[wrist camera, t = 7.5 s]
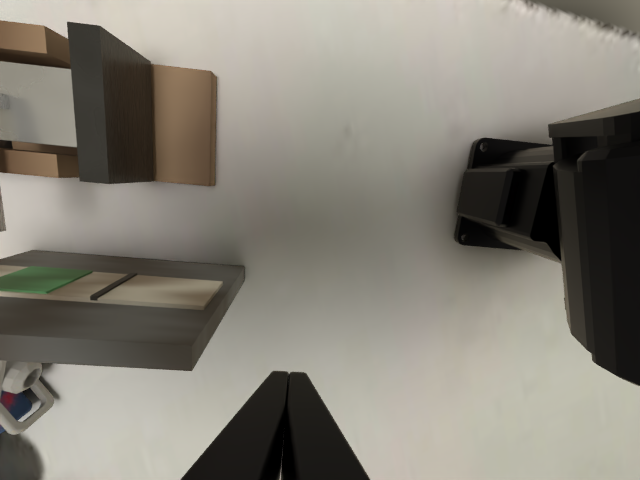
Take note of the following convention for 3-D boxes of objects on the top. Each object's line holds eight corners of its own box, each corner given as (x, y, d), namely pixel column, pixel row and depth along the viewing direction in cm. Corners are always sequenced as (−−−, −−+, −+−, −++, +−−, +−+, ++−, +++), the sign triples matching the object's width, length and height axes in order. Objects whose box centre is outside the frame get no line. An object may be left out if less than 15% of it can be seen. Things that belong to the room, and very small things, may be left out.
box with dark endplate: (150, 61, 15) (61, -2, 10) (154, 225, 17) (82, 251, 11) (21, 46, 15) (-146, -28, 9) (40, 216, 17) (-91, 237, 11)
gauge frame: (252, 81, 17) (192, -19, 8) (244, 281, 19) (192, 370, 11) (-33, 48, 16) (-454, -106, 7) (-2, 263, 18) (-282, 344, 10)
